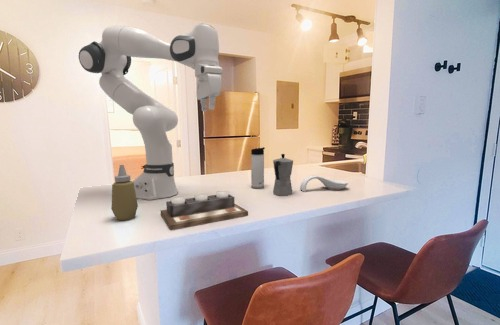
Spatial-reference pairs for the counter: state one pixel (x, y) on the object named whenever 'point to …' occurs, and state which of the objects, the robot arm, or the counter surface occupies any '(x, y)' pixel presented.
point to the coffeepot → (282, 176)
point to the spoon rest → (327, 182)
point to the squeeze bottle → (123, 196)
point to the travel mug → (257, 168)
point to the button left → (178, 200)
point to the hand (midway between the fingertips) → (207, 110)
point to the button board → (201, 212)
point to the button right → (222, 194)
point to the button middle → (201, 197)
